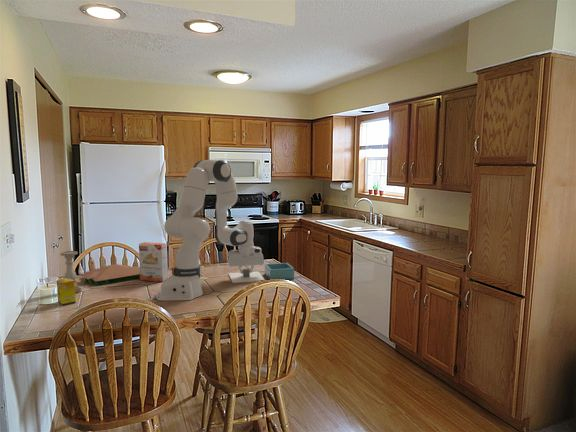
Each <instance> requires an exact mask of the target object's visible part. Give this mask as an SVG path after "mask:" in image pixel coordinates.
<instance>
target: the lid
mask: <svg viewBox="0 0 576 432" xmlns="http://www.w3.org/2000/svg"><path fill="white" fill-rule="evenodd" d="M242 270H243V273H242V274H241V273H240V272H228V273H227V274H228V277H229V278H230V281H231V283H233V284H236V283H238V284H239V283H252V282H253V283H255V282H262V281H261V280H265V281H266V279H265V278H264V276H263V274H261V272H259V270H258V271H252V273H250V270H249V268H242ZM254 281H255V282H254Z"/></svg>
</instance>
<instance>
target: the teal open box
mask: <svg viewBox="0 0 576 432" xmlns="http://www.w3.org/2000/svg"><path fill="white" fill-rule="evenodd" d="M264 274H265V276H266V277H267V279H268V280H269V279H283V280H292V279H295V268H294V267H293V266H292V265H291V264H290V263H289V262H278V263H277V262H275V263H266V264H264Z"/></svg>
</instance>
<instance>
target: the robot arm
mask: <svg viewBox="0 0 576 432" xmlns="http://www.w3.org/2000/svg"><path fill="white" fill-rule="evenodd" d="M209 182H213V183H214V185H215V194H216V201H215V206H214V208H215V209H214V211H215V212H214V213H215V233H214V238H215V241H216V242H217V244H219V245H227V246H231V247H237V249H231V250H229V251H228V252H227V258H228V260H227V261H228V264H227V265H228V266H229V267H230V268H231V267H238V268H239V270H240V272H239V273H241V274H242V273H243V269H241V268H242V267H245V266H246V267H247V266H250V269H249V268H248V269H249V270H250V273H252V272H253V269H254V266H262V265H264V263H265V261H264V254H263V253H262V252H263V250H262V248H261V247H260V246H255V245H254V237H255V236H254V235H255V234H254V233H255V231H254V224H253V223H252V222H250V221H243V220H241V221H239V222H238V224H236V226H234V227H229V225H228V219H227V217H228V215H227V213H228V210H229V209H230V208H232V207H233V206H234V205H235V204H236V203H237V202H238V198H239V197H238V189H237V183H236V180H235V177H234V175H233V172H232V168H231V165H230V164H229V163H228V162H227V161H226V160H222V159H218V160H217V159H205V160H199V161H196V163H194V165H193V167H191V168H190V169H189V170H188V173H187V175H186V178H185V180H184V184H183V189H182V193H181V197H180V201H179V203H178V206H177V207H176V209H175V211H174V212H173V213H172V214H171V216H169V217H168V218H166V220H165V222H164V226H163V228H164V231H165V233H166V234H167V235H168V236H171V237H173V238H176V239H182V244H181V246H180V247H179V248H178V249H177V250H176V252H175V263H176V264H175V266H174V265H173V266H171V268H170V270H171V273H172V274H171V275H170V276H169V277H167V279H166V280H165V281H163V282H162V284H161V286H160V290H159V291H158V292H156V294H155V298H156V300H158V301H163V302H164V301H167V302H168V301H191V300H193V299H195V298H199V297H201V296H202V295H203V294H204V291H203V289H202V284H201V275H202V274H201V265H200V250H201V246H202V244H203V242H204V241H205V240H206V239H207V238H208V237H209V235H210V232H211V227H210V223H209V222H208V221H207V220H205V219H203V218H200V217H194V216H195V215H196V213H197V212H198V211H200V210H201V209H202V208H203V207H204V205H205V204H204V203H205V198H206V193H207V188H208V183H209Z"/></svg>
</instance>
